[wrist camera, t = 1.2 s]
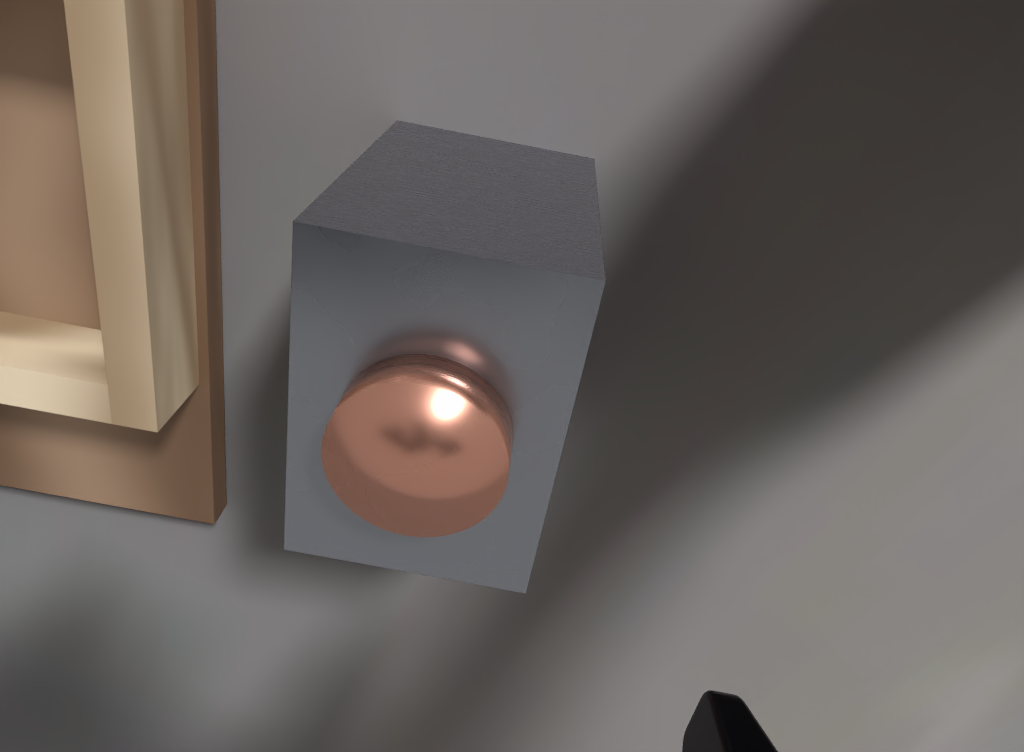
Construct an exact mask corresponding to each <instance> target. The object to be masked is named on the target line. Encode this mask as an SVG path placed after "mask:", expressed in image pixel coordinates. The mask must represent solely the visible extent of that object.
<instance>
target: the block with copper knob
mask: <svg viewBox="0 0 1024 752" xmlns="http://www.w3.org/2000/svg"><path fill="white" fill-rule="evenodd" d="M605 282H606V279H605V268H604V257H603V247H602V236H601V226H600V215H599V204H598V194H597V183H596V172H595V162H594V159H592V158H587V157H582V156H577V155H572V154H566V153H561V152H556V151H551V150H546V149H541V148H536V147H531V146H526V145H521V144H515V143H510V142H505V141H500V140H495V139H490V138H485V137H480V136H475V135H469V134H464V133H459V132H454V131H449V130H444V129H439V128H434V127H429V126H423V125H418V124H413V123H408V122H403V121H398V120H397V121H396V122H395V123H394V124H393V125H392V126H391V127H390V128H389V129H388V130H387V131H386V132H385V133H384V134H383V135H382V136H381V137H380V138H379V139H378V140H377V141H376V142H374V143H373V144H372V145H371V146H370V147H369V148H368V149H367V150H366V151H365V152H364V153H363V154H362V155H361V156H360V157H359V158H358V159H357V160H356V161H355V162H354V163H353V164H352V165H351V166H350V167H349V168H348V169H347V170H346V171H344V172H343V173H342V174H341V175H340V176H339V177H338V178H337V179H336V180H335V181H334V182H333V183H332V184H331V185H330V186H329V187H328V188H327V189H326V190H325V191H324V192H323V193H322V194H321V195H320V196H319V197H318V198H317V199H316V200H314V201H313V202H312V203H311V204H310V205H309V206H308V207H307V208H306V209H305V210H304V211H303V212H302V213H301V214H300V215H299V216H298V217H297V218H296V219H295V220H294V221H293V241H292V277H291V313H290V349H289V385H288V421H287V457H286V493H285V529H284V550H289V551H294V552H300V553H305V554H311V555H317V556H322V557H328V558H333V559H339V560H344V561H350V562H355V563H361V564H366V565H372V566H377V567H383V568H388V569H394V570H399V571H405V572H410V573H416V574H421V575H427V576H432V577H438V578H443V579H449V580H454V581H460V582H465V583H471V584H476V585H482V586H487V587H493V588H498V589H504V590H509V591H515V592H521V593H526V590H527V586H528V582H529V579H530V575H531V571H532V567H533V563H534V559H535V555H536V551H537V547H538V543H539V540H540V536H541V532H542V528H543V524H544V520H545V516H546V512H547V508H548V504H549V501H550V497H551V493H552V489H553V485H554V481H555V477H556V473H557V469H558V465H559V462H560V458H561V454H562V450H563V446H564V442H565V438H566V434H567V430H568V426H569V423H570V419H571V415H572V411H573V407H574V403H575V399H576V395H577V391H578V387H579V384H580V380H581V376H582V372H583V368H584V364H585V360H586V356H587V352H588V348H589V345H590V341H591V337H592V333H593V329H594V325H595V321H596V317H597V313H598V309H599V305H600V302H601V298H602V294H603V290H604V286H605Z"/></svg>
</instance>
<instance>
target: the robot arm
mask: <svg viewBox="0 0 1024 752" xmlns="http://www.w3.org/2000/svg"><path fill="white" fill-rule="evenodd" d="M682 752H778V751H777V750H776V748H775V747H774V745H773V744H772V742H771V741H770V739H769V738H768V736H767V735H766V733H765V732H764V730H763V729H762V727H761V726H760V724H759V723H758V722H757V720H756V719H755V717H754V716H753V714H752V713H751V711H750V710H749V708H748V707H747V705H746V704H745V702H744V701H743V700H742V699H741V698H740V697H738V696H736V695H733V694H728V693H723V692H717V691H707V692H705V693H704V694H703V696H702V697H701V699H700V701H699V703H698V705H697V707H696V709H695V712H694V714H693V716H692V718H691V720H690V722H689V724H688V726H687V728H686V731H685V734H684V739H683V750H682Z"/></svg>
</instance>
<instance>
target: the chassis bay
mask: <svg viewBox="0 0 1024 752" xmlns="http://www.w3.org/2000/svg"><path fill="white" fill-rule="evenodd" d="M0 485H3V486H9V487H14V488H20V489H25V490H31V491H36V492H42V493H47V494H52V495H58V496H63V497H69V498H74V499H80V500H85V501H91V502H96V503H102V504H107V505H113V506H118V507H124V508H129V509H135V510H140V511H146V512H151V513H157V514H162V515H168V516H173V517H179V518H184V519H190V520H195V521H201V522H206V523H211V524H215V522H216V520H217V519H218V517H219V516H220V514H221V512H222V511H223V509H224V508H225V506H226V504H227V499H226V454H225V409H224V364H223V320H222V275H221V230H220V186H219V141H218V96H217V51H216V7H215V0H0Z"/></svg>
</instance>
